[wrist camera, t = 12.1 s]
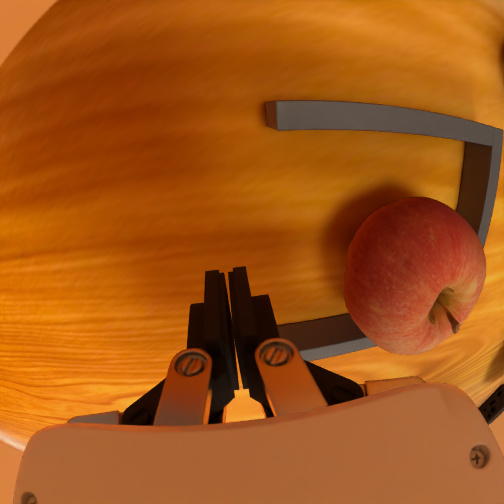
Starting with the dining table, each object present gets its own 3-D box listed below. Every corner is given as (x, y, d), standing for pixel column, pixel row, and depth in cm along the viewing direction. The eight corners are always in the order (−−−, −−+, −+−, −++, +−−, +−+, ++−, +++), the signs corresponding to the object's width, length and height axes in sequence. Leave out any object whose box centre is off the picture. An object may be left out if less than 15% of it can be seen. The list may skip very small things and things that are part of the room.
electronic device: (471, 415, 43) (479, 429, 38) (500, 385, 38) (510, 400, 34) (483, 409, 44) (491, 422, 40) (510, 380, 40) (520, 394, 36)
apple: (296, 279, 17) (344, 393, 10) (364, 154, 13) (478, 210, 6) (388, 307, 19) (444, 391, 12) (448, 213, 16) (533, 276, 9)
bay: (264, 101, 12) (275, 100, 10) (476, 122, 13) (503, 130, 10) (275, 338, 19) (282, 366, 17) (441, 302, 20) (457, 320, 17)
